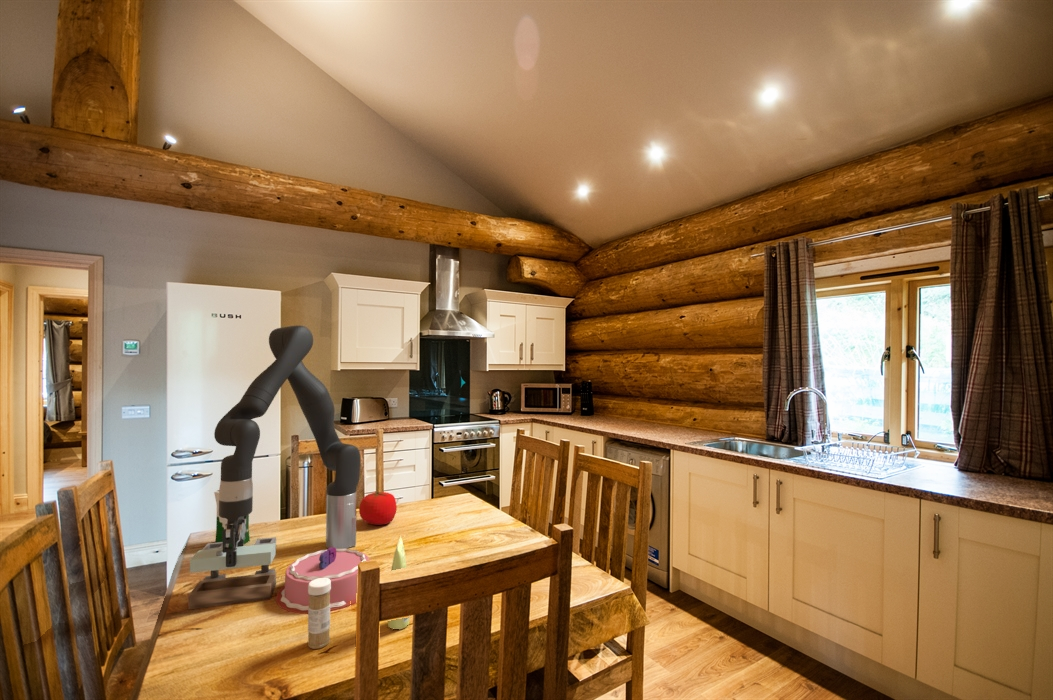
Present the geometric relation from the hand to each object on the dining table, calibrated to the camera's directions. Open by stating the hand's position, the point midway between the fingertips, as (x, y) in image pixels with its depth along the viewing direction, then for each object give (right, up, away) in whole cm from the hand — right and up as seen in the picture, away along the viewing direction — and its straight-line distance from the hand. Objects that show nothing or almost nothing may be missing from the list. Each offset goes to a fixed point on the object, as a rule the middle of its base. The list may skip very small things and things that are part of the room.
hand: (234, 560), depth 125 cm
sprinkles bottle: (+30, -10, -20) cm, 38 cm away
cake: (+22, -10, +5) cm, 25 cm away
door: (-1, -1, +2) cm, 2 cm away
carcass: (0, -9, +1) cm, 9 cm away
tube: (+46, -10, -12) cm, 48 cm away
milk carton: (-21, -10, +34) cm, 41 cm away
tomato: (+20, -10, +56) cm, 60 cm away
